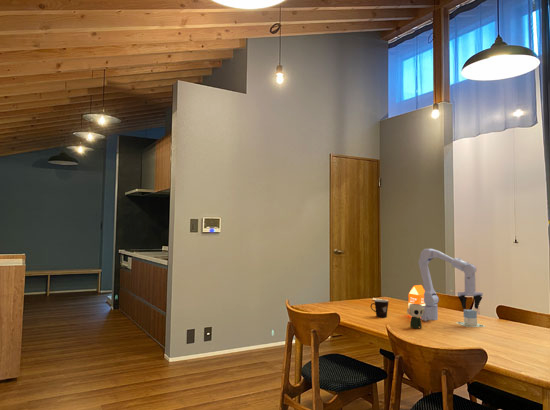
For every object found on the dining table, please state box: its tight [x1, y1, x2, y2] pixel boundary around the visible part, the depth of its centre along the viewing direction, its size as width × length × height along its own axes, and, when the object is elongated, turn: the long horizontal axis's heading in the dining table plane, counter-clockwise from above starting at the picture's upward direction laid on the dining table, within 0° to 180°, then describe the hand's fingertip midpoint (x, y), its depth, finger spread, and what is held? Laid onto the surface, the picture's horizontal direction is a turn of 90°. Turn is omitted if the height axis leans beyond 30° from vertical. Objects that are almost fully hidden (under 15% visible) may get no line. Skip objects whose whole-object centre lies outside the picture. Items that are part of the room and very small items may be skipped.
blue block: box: [463, 309, 478, 319], centre depth 240 cm, size 5×5×4 cm
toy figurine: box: [406, 303, 424, 329], centre depth 232 cm, size 11×7×13 cm, turn 106°
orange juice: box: [408, 284, 425, 318], centre depth 266 cm, size 8×9×20 cm
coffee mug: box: [370, 299, 389, 319], centre depth 263 cm, size 12×9×10 cm
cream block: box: [463, 316, 478, 326], centre depth 239 cm, size 5×5×4 cm
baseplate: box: [455, 321, 487, 328], centre depth 239 cm, size 12×12×2 cm
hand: (470, 308), depth 240 cm, fingers open, 7 cm apart
